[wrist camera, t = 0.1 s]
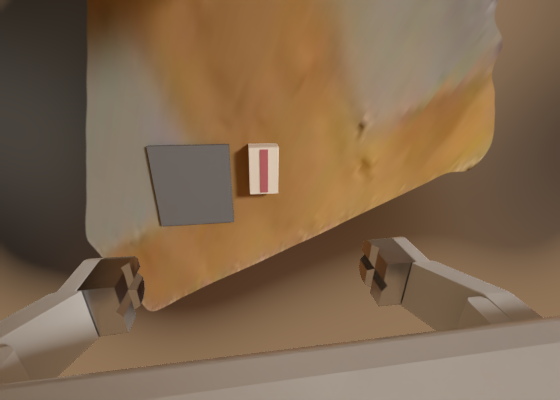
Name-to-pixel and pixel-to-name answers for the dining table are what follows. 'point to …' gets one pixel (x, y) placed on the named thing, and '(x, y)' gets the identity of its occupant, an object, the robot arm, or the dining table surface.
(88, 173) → the dining table surface
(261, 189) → the card deck
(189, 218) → the mat
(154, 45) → the dining table surface
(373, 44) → the dining table surface
